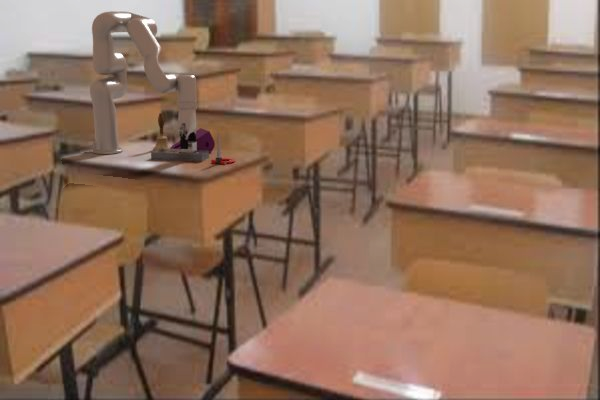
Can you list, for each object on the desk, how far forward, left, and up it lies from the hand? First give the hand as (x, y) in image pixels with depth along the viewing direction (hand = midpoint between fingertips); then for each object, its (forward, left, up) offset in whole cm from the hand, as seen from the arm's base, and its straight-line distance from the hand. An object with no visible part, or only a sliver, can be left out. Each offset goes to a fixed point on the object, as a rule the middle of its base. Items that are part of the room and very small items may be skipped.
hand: (188, 146), depth 310 cm
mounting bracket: (-4, +14, -6) cm, 15 cm away
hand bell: (-19, +18, -5) cm, 27 cm away
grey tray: (-4, 0, -5) cm, 6 cm away
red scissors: (+16, -3, -6) cm, 17 cm away
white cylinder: (0, 0, -5) cm, 5 cm away
